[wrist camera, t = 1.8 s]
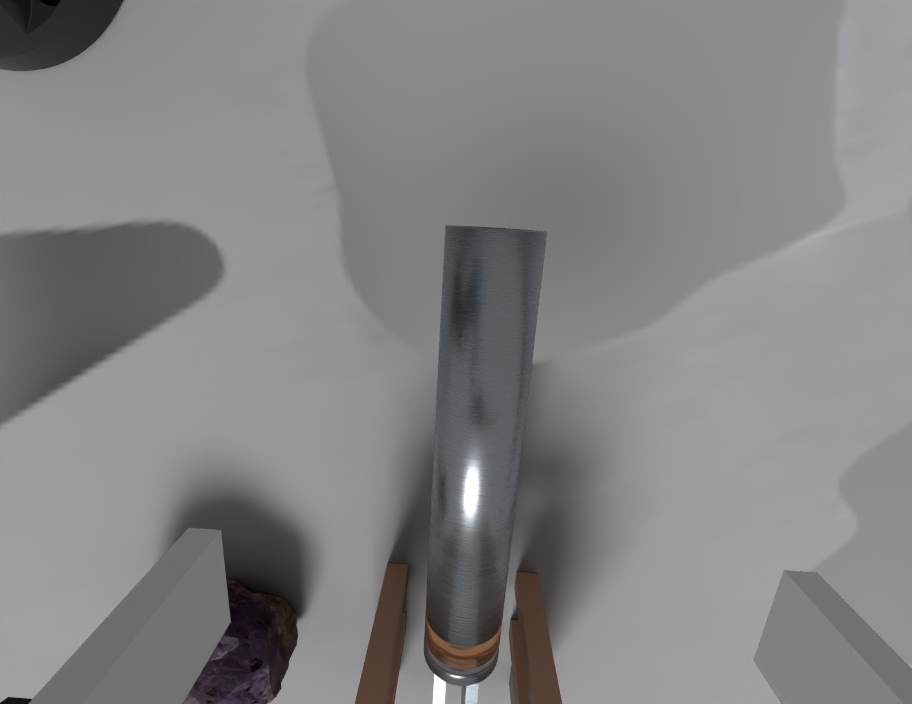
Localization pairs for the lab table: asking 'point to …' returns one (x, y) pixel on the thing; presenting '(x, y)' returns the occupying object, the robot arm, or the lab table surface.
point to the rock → (248, 651)
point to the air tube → (478, 440)
